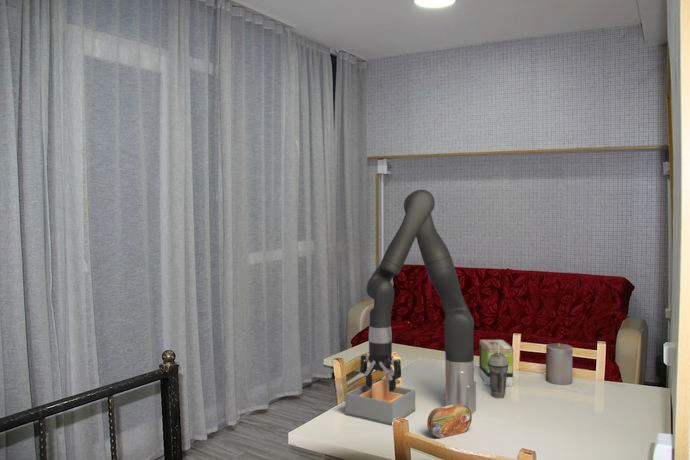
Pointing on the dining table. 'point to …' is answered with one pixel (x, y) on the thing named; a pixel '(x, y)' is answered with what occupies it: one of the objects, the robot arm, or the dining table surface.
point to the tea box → (490, 348)
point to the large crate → (379, 405)
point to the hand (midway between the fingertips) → (380, 388)
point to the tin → (449, 420)
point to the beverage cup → (498, 374)
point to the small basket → (381, 391)
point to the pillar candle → (559, 364)
